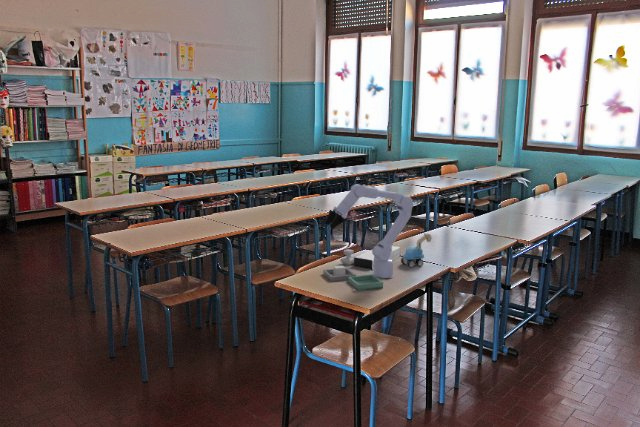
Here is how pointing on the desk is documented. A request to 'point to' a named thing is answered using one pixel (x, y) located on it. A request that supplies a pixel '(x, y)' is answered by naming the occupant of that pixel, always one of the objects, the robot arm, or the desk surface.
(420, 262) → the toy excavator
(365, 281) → the bin
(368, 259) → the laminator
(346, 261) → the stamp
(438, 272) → the desk surface
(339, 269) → the light gray block
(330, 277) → the bin
